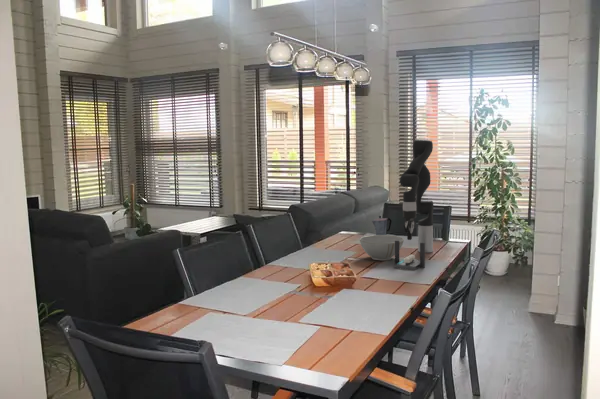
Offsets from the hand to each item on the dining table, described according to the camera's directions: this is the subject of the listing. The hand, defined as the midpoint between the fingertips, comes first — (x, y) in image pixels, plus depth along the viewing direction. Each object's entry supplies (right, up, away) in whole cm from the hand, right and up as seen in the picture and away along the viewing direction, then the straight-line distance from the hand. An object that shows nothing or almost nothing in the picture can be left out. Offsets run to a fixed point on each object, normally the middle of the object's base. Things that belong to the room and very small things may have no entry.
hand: (409, 239), depth 293 cm
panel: (0, -15, +2) cm, 15 cm away
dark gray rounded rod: (-6, -15, +6) cm, 17 cm away
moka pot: (-5, -8, +68) cm, 68 cm away
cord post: (+7, -16, -2) cm, 17 cm away
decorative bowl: (-12, -14, +23) cm, 30 cm away
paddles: (0, -12, +1) cm, 12 cm away
